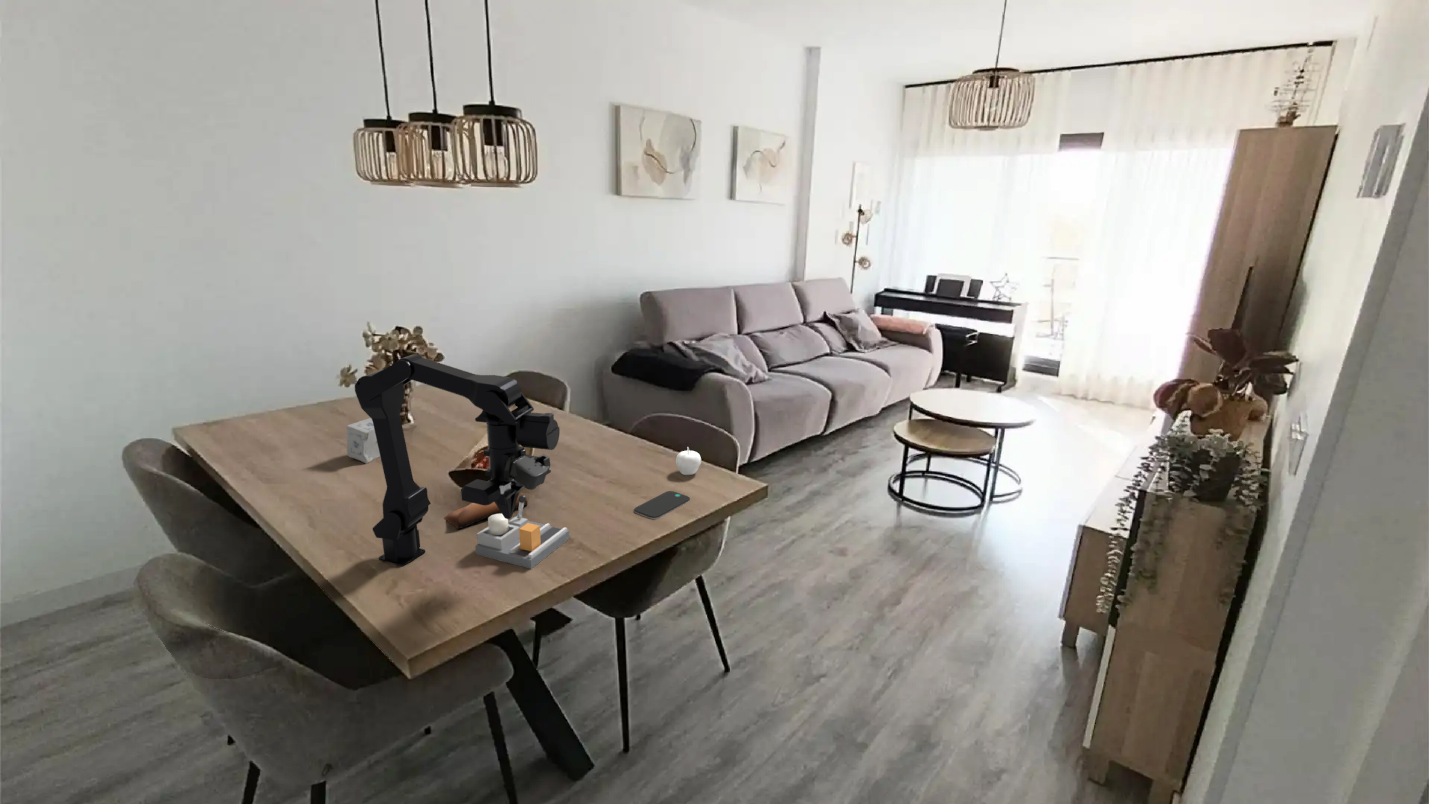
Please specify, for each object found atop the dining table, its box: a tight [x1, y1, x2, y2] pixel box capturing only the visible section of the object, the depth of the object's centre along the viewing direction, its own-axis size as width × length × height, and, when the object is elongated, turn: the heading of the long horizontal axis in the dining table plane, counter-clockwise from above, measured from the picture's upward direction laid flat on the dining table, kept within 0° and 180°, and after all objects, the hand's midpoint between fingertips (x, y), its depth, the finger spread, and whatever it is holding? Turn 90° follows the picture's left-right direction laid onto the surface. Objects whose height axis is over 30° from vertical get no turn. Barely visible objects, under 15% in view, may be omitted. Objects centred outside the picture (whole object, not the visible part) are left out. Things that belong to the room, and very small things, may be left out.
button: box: [487, 513, 509, 535], centre depth 140 cm, size 4×4×3 cm
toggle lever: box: [516, 494, 527, 519], centre depth 149 cm, size 2×2×5 cm
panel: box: [475, 516, 571, 570], centre depth 142 cm, size 14×14×4 cm
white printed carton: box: [346, 417, 381, 464], centre depth 186 cm, size 10×8×10 cm
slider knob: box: [519, 523, 541, 552], centre depth 137 cm, size 3×3×5 cm
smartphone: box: [633, 490, 691, 520], centre depth 165 cm, size 8×1×15 cm
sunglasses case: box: [443, 492, 528, 530], centre depth 157 cm, size 18×7×7 cm
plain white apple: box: [675, 446, 702, 476], centre depth 184 cm, size 7×7×8 cm
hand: (508, 518), depth 129 cm, fingers closed
